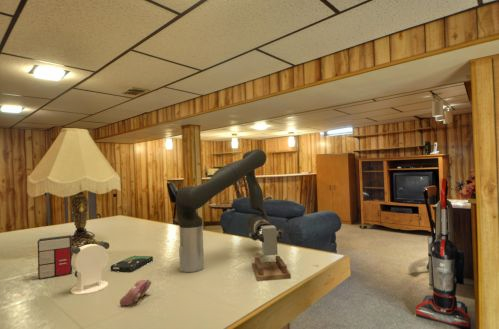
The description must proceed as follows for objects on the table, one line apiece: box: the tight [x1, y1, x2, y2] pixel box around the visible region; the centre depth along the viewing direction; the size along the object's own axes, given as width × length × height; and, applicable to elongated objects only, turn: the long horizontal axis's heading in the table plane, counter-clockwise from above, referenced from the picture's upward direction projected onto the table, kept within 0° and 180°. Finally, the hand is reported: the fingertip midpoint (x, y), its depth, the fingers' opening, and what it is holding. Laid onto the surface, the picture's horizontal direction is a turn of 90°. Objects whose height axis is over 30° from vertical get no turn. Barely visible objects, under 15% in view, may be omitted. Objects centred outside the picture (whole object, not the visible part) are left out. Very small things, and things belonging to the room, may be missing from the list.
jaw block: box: [261, 224, 279, 257], centre depth 109 cm, size 5×5×10 cm
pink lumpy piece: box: [119, 278, 152, 307], centre depth 89 cm, size 10×5×7 cm, turn 170°
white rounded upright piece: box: [70, 240, 110, 296], centre depth 101 cm, size 12×11×15 cm
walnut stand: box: [251, 255, 292, 282], centre depth 108 cm, size 12×15×4 cm
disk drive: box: [110, 255, 154, 273], centre depth 123 cm, size 10×3×15 cm
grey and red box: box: [37, 234, 73, 280], centre depth 114 cm, size 11×4×15 cm, turn 118°
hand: (270, 239), depth 106 cm, fingers closed on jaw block, 5 cm apart
